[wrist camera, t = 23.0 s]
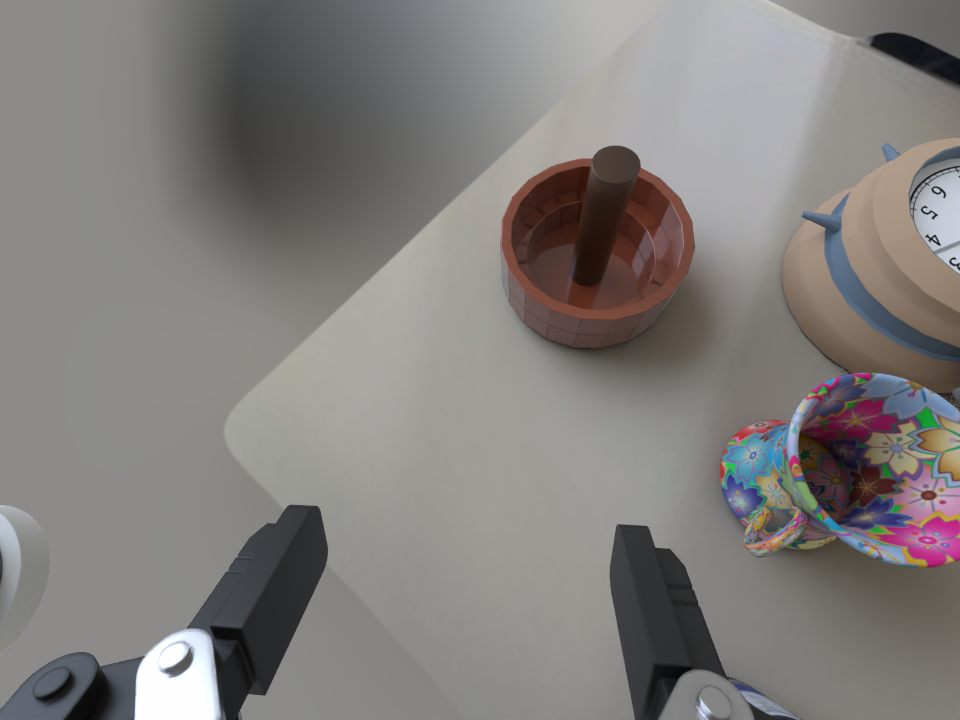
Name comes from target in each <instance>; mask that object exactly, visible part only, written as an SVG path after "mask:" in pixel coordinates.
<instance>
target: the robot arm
mask: <svg viewBox="0 0 960 720" xmlns="http://www.w3.org/2000/svg"><path fill="white" fill-rule="evenodd" d="M327 556H328V546H327V541H326V536H325V531H324V526H323V521H322V516H321V511H320V509H319V507H318V506H306V505H289V506H288V507H287V508H286V509H285V510H284V512H283V513H282V515H281V517H280V518H279V519H278V521H277V522H276V524H270V523H268V524H266V525H265V526H264V527H262V528H261V529H260V530H259V531H257V532H256V533H255V534H254V535H253V536H251V537H250V538H249V540H248V541H247V543H246V544H245V546H244V547H243V548H242V550H241V551H240V553H239V554H238V558H235V560H234V562H233V563H232V564H231V566H230V567H229V570H228V572H226V573H225V574H224V576H223V577H222V579H221V580H220V582H219V583H218V585H217V586H216V587H215V589H214V590H213V592H212V593H211V595H210V596H209V597H208V599H207V600H206V602H205V603H204V605H203V606H202V607H201V609H200V611H199V612H198V613H197V615H196V616H195V618H194V619H193V621H192V622H191V623H190V625H189V626H188V627H187V628H186V629H185V630H181V631H178V632H175V633H173V634H171V635H169V636H168V637H166V638H165V639H163V640H162V641H160V642H159V643H158V644H156V645H155V646H154V647H153V648H152V649H151V650H150V651H149V652H148V653H147V654H146V656H143V657H139V658H135V659H131V660H126V661H122V662H118V663H113V664H109V665H105V666H101V667H100V665H99V664H98V662H97V660H96V658H95V657H94V656H93V655H91V654H89V653H85V652H77V653H72V654H68V655H65V656H62V657H60V658H57V659H55V660H53V661H51V662H50V663H48V664H46V665H45V666H43V667H42V668H40V669H39V670H38V671H36V672H35V673H34V674H32V675H31V676H30V677H29V678H28V679H27V680H26V681H25V682H24V683H23V684H22V685H21V686H20V687H19V689H18V690H17V691H16V692H15V693H14V694H13V696H12V697H11V698H10V699H9V700H8V701H7V702H6V704H5V705H4V706H3V707H2V708H1V709H0V720H242V717H241V713H240V709H241V707H242V705H243V703H244V701H245V699H246V697H247V695H248V694H254V695H266V693H267V691H268V689H269V686H270V684H271V682H272V680H273V678H274V676H275V674H276V672H277V669H278V667H279V665H280V663H281V661H282V659H283V657H284V654H285V652H286V650H287V648H288V646H289V644H290V642H291V639H292V637H293V635H294V633H295V631H296V629H297V627H298V625H299V622H300V620H301V618H302V616H303V614H304V612H305V610H306V608H307V605H308V603H309V601H310V599H311V597H312V595H313V593H314V590H315V588H316V586H317V584H318V582H319V580H320V578H321V575H322V573H323V571H324V568H325V566H326V562H327ZM2 569H3V564H2V555H1V550H0V584H1V579H2ZM610 586H611V593H612V598H613V604H614V609H615V614H616V620H617V625H618V630H619V636H620V641H621V646H622V651H623V657H624V662H625V667H626V673H627V678H628V683H629V689H630V694H631V699H632V705H633V710H634V715H635V720H782V719H779V718H777V717H774V716H772V715H770V714H767V713H765V712H763V711H761V710H760V709H758V708H757V707H755V706H754V705H752V704H751V703H749V702H748V701H747V700H746V699H745V697H744V696H743V694H742V693H741V692H740V691H739V690H738V688H736V687H735V686H734V685H733V684H732V683H731V682H730V681H729V680H728V678H727V676H726V675H725V672H724V670H723V668H722V665H721V662H720V660H719V657H718V654H717V652H716V649H715V646H714V644H713V641H712V638H711V635H710V633H709V630H708V627H707V625H706V622H705V619H704V617H703V614H702V611H701V609H700V607H699V606H698V600H697V598H696V595H695V592H694V590H692V584H691V582H690V579H689V576H688V574H687V571H686V568H685V566H684V565H683V564H682V562H681V561H680V560H679V559H678V558H677V557H676V555H675V554H674V553H673V552H672V551H671V549H664V548H655V546H654V543H653V539H652V536H651V533H650V530H649V528H648V527H647V526H639V525H621V524H618V525H617V526H616V531H615V538H614V544H613V551H612V557H611V564H610Z"/></svg>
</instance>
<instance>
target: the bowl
mask: <svg viewBox="0 0 960 720" xmlns="http://www.w3.org/2000/svg"><path fill="white" fill-rule="evenodd" d="M592 159H593V158H591V159H576V160H572V161H568V162H565V163H561V164H557V165H553V166H551V167H550V168H548V169H546V170H544V171H543V172H541V173H539V174H537V175H536V176H534V177H532V178H530V179H529V180H528V181H527V182H526V183H525V184H524V185H523V186H522V187H521V188H520V190H519V191H518V192H517V193H516V194H515V195H514V196H513V197H512V199H511V201H510V203H509V205H508V208H507V210H506V212H505V214H504V217H503V219H502V224H501V242H500V248H501V265H502V281H503V284H504V288H505V291H506V294H507V297H508V300H509V303H510V305H511V306H512V307H513V309H514V310H515V311H516V313H517V314H518V315H519V317H520V318H521V319H522V321H523V322H524V323H525V324H526V325H528V326H529V327H531V328H532V329H533V330H535V331H536V332H538V333H539V334H541V335H542V336H543V337H545V338H547V339H549V340H553V341H556V342H559V343H562V344H565V345H568V346H571V347H581V348H604V347H607V346H611V345H615V344H618V343H622V342H626V341H629V340H630V339H632V338H634V337H635V336H637V335H638V334H640V333H641V332H643V331H644V330H646V329H647V328H649V327H650V326H651V325H652V324H653V323H654V321H655V320H656V319H657V317H658V316H659V315H660V313H661V312H662V311H663V309H664V308H665V307H666V305H667V304H668V302H669V301H670V299H671V298H672V296H673V295H674V293H675V292H676V290H677V289H678V287H679V286H680V284H681V283H682V281H683V280H684V278H685V277H686V275H687V273H688V271H689V267H690V264H691V260H692V257H693V253H694V250H695V249H694V248H695V244H694V234H693V225H692V220H691V218H690V216H689V214H688V212H687V210H686V208H685V206H684V204H683V202H682V200H681V198H679V196H678V195H677V194H676V193H675V192H674V191H673V190H672V189H671V188H669V187H668V186H667V185H666V184H665V183H664V182H663V181H662V180H661V179H660V178H659V177H657V176H655V175H653V174H651V173H649V172H648V171H646V170H644V169H642V168H640V171H639V174H638V177H637V180H636V183H635V186H634V189H633V192H632V195H631V198H630V200H629V203H628V206H627V209H626V212H625V215H624V218H623V221H622V224H621V227H620V230H619V233H618V236H617V238H616V241H615V244H614V247H613V250H612V253H611V256H610V259H609V262H608V265H607V268H606V271H605V274H604V276H603V278H602V280H601V281H600V282H599V283H597V284H595V285H592V286H584V285H580V284H578V283H577V282H575V281H574V280H573V278H572V277H571V275H570V266H571V261H572V256H573V251H574V246H575V241H576V236H577V231H578V226H579V222H580V217H581V212H582V207H583V202H584V197H585V192H586V187H587V182H588V177H589V172H590V167H591V162H592Z"/></svg>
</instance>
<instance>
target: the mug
mask: <svg viewBox="0 0 960 720" xmlns="http://www.w3.org/2000/svg"><path fill="white" fill-rule="evenodd" d="M720 480H721V486H722V490H723V493H724V496H725V498H726V501H727V503H728V505H729V506H730V508H731V510H732V511H733V513H734V514H735V516H736V517H737V518H738V519H739V520H740V521H741V523H742V524H743V525H744V526H745V527H747V529H746V531H745V533H744V537H743V544H744V546H745V548H746V549H747V550H748V551H749V553H750V554H752V555H753V556H755V557H766V556H770V555H772V554H775V553H777V552H779V551H781V550H782V549H784V548H788V549H797V550H804V549H813V548H817V547H821V546H823V545H825V544H828V543H829V542H831V541H833V540H834V539H836V538H837V537H838V538H839V539H841V540H842V541H843V542H845V543H846V544H848V545H849V546H851V547H853V548H854V549H856V550H858V551H860V552H862V553H864V554H866V555H868V556H870V557H872V558H875V559H877V560H880V561H883V562H886V563H890V564H894V565H898V566H905V567H914V568H930V567H938V566H944V565H947V564H951V563H954V562H956V561H959V560H960V411H959V410H958V409H956V408H955V407H954V406H953V405H952V404H950V403H949V402H948V401H946V400H945V399H944V398H942V397H941V396H939V395H938V394H936V393H934V392H933V391H931V390H929V389H927V388H925V387H923V386H921V385H919V384H917V383H914V382H912V381H909V380H906V379H903V378H900V377H896V376H892V375H886V374H878V373H855V374H849V375H844V376H840V377H837V378H834V379H832V380H829V381H827V382H825V383H823V384H821V385H820V386H818V387H817V388H815V389H814V390H813V391H812V392H810V393H809V394H808V395H807V396H806V397H805V398H804V400H803V401H802V402H801V404H800V405H799V406H798V408H797V410H796V412H795V413H794V415H793V418H792V421H791V422H788V421H781V420H768V421H761V422H757V423H754V424H751V425H749V426H747V427H745V428H743V429H742V430H740V431H739V432H738V433H737V434H736V435H735V436H734V437H733V438H732V439H731V440H730V442H729V443H728V445H727V446H726V448H725V450H724V453H723V456H722V459H721V464H720ZM758 537H760V538H762V539H764V540H763V541H760V542H758V543H756V542H757V539H758Z"/></svg>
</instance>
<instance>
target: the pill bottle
mask: <svg viewBox="0 0 960 720" xmlns="http://www.w3.org/2000/svg"><path fill="white" fill-rule="evenodd" d="M727 678H728V680H729V681H730V682H731V683H732V684H733V685H734V686H735V687H736V688H738V690H739V691H740V692H741V693H742V694H743V696H744V697H745V699H746V700H747V701H748V702H749V703H751V704H752V705H754V706H755V707H757V708H758V709H760V710H761V711H763V712H765V713H767V714H770V715H772V716H774V717H777V718H779V719H782V720H801V719H799V718H798V717H796V716H795V715H793V714H792V713H790V712H789V711H787V710H786V709H784V708H782V707H781V706H779V705H778V704H776V703H775V702H773V701H772V700H770V699H769V698H767V697H766V696H764V695H762V694H761V693H759V692H758V691H756V690H755V689H753V688H752V687H750V686H748V685H746V684H744V683H742V682H740V681H738V680H735V679H733V678H729V677H727Z"/></svg>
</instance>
